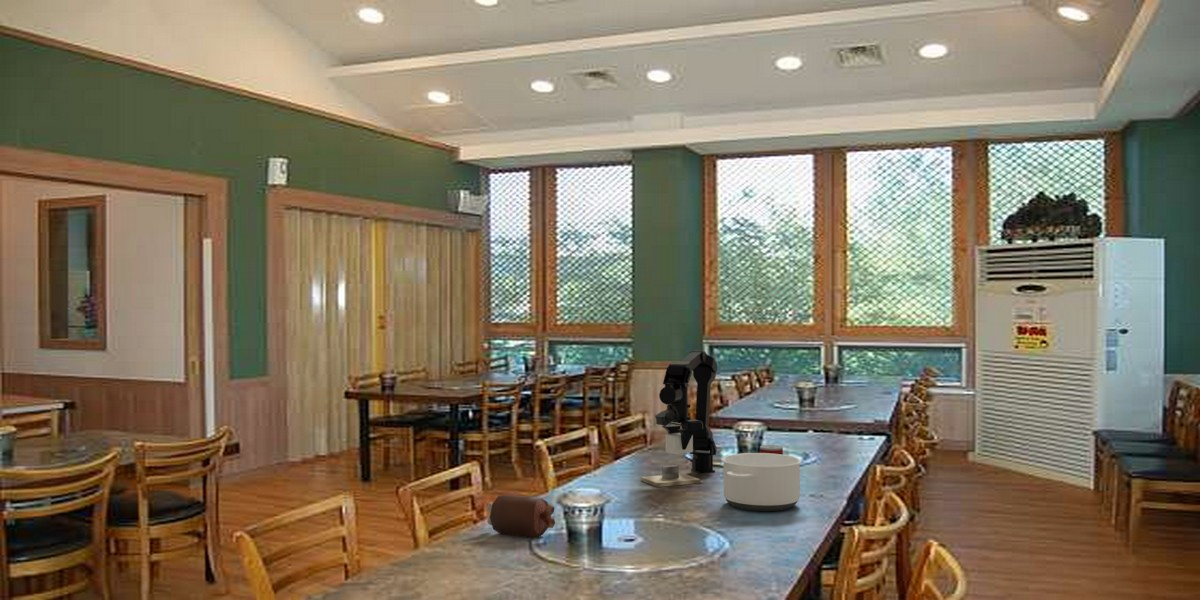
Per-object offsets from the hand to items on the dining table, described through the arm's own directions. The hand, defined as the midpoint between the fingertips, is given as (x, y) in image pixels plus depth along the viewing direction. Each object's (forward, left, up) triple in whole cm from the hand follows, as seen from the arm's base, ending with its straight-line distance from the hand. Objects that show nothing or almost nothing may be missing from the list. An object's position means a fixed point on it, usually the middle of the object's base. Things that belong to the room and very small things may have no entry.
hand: (679, 448), depth 312 cm
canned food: (-31, +7, -12) cm, 34 cm away
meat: (+70, +45, -12) cm, 84 cm away
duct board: (+2, -3, -11) cm, 12 cm away
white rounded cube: (0, 0, -1) cm, 1 cm away
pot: (-6, +40, -12) cm, 42 cm away
